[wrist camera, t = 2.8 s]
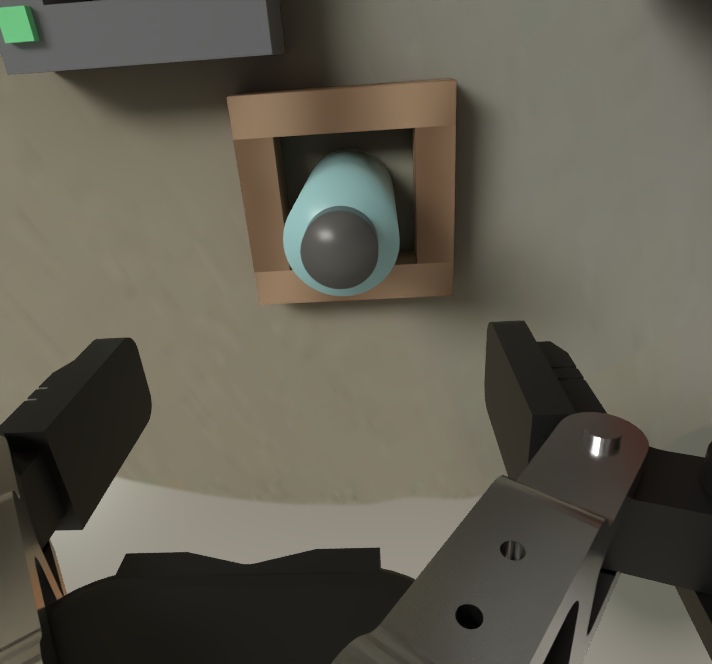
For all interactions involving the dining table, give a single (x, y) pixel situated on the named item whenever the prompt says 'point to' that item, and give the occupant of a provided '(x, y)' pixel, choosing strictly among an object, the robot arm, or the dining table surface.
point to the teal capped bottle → (344, 225)
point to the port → (134, 32)
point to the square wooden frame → (338, 115)
